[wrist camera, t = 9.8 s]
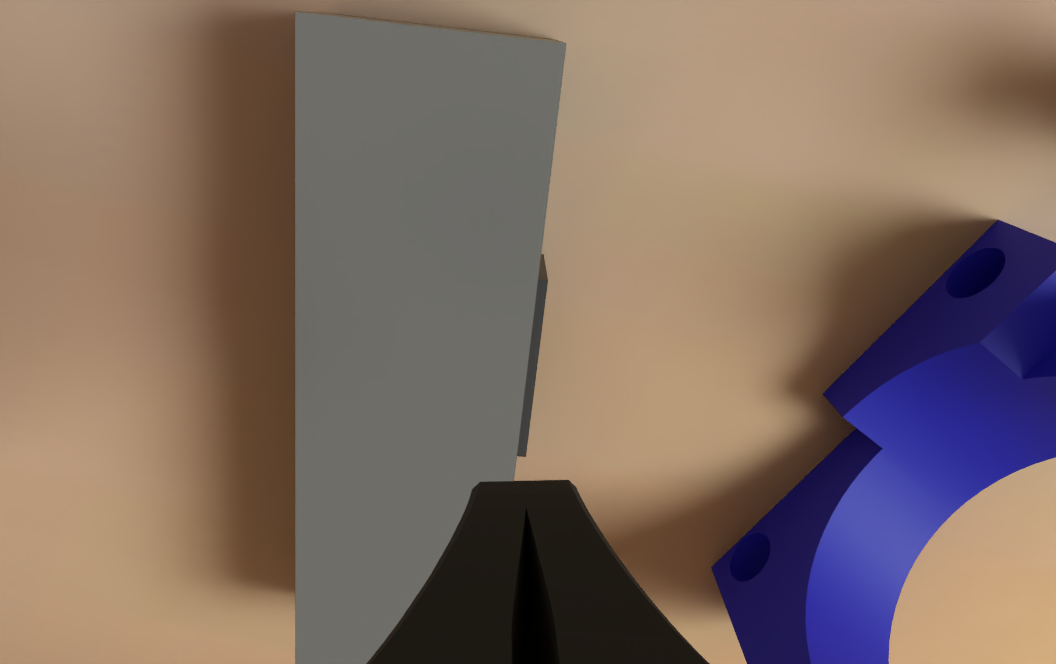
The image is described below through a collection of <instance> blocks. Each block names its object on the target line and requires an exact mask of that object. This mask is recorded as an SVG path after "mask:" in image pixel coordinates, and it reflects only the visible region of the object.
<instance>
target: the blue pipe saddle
mask: <svg viewBox="0 0 1056 664" xmlns="http://www.w3.org/2000/svg"><path fill="white" fill-rule="evenodd" d="M823 395H824V396H825V397H826V398H827V399H828V400H829V402H830V403H831V404H832V405H833V406H834V408H835V409H836V410H837V411H838V412H839V413H840V415H841V416H842V417H843V418H844V419H846V420H847V421H848V422H850V423H851V424H852V425H853V426H855V427H856V429H855V430H854V431H853V432H852V433H851V434H850V435H849V436H848V437H847V438H845V439H844V440H843V441H842V442H841V443H840V444H839V445H838V446H837V447H836V448H835V449H834V450H833V451H832V452H831V453H830V454H829V455H828V456H827V457H826V458H825V459H824V460H823V461H822V462H820V463H819V464H818V465H817V466H816V467H815V468H814V469H813V470H812V471H811V472H810V473H809V474H808V475H807V476H806V477H805V478H804V479H803V480H802V481H801V482H800V483H799V484H798V485H797V486H795V487H794V488H793V489H792V490H791V491H790V492H789V493H788V494H787V495H786V496H785V497H784V498H783V499H782V500H781V501H780V502H779V503H778V504H777V505H776V506H775V507H774V508H773V509H772V510H771V511H769V512H768V513H767V514H766V515H765V516H764V517H763V518H762V519H761V520H760V521H759V522H758V523H757V524H756V525H755V526H754V527H753V528H752V529H751V530H750V531H749V532H748V533H747V534H746V535H744V536H743V537H742V538H741V539H740V540H739V541H738V542H737V543H736V544H735V545H734V546H733V547H732V548H731V549H730V550H729V551H728V552H727V553H726V554H725V555H724V556H723V557H722V558H721V559H719V560H718V561H717V562H716V563H715V564H714V565H713V566H712V567H711V568H712V571H713V574H714V576H715V579H716V582H717V584H718V587H719V590H720V592H721V595H722V598H723V600H724V603H725V606H726V608H727V611H728V614H729V616H730V619H731V622H732V624H733V627H734V630H735V632H736V635H737V638H738V640H739V643H740V646H741V649H742V651H743V654H744V657H745V659H746V662H747V664H889V662H888V658H889V639H890V632H891V625H892V620H893V616H894V612H895V607H896V604H897V601H898V598H899V595H900V592H901V589H902V587H903V585H904V582H905V580H906V578H907V576H908V573H909V571H910V570H911V568H912V566H913V564H914V562H915V560H916V559H917V557H918V555H919V554H920V552H921V551H922V549H923V548H924V547H925V545H926V544H927V542H928V541H929V540H930V538H931V537H932V536H933V535H934V533H935V532H936V531H937V530H938V528H939V527H940V526H941V525H942V524H943V523H944V522H945V521H946V520H947V519H948V518H949V517H950V516H951V515H952V514H953V513H954V512H955V511H956V510H958V509H959V508H960V507H961V506H962V505H963V504H964V503H966V502H967V501H968V500H969V499H971V498H972V497H974V496H975V495H976V494H978V493H979V492H980V491H982V490H983V489H985V488H987V487H988V486H990V485H991V484H993V483H995V482H996V481H998V480H1000V479H1002V478H1004V477H1006V476H1008V475H1010V474H1012V473H1014V472H1016V471H1018V470H1020V469H1023V468H1025V467H1028V466H1030V465H1033V464H1035V463H1038V462H1042V461H1045V460H1048V459H1051V458H1054V457H1056V243H1055V242H1052V241H1050V240H1047V239H1045V238H1042V237H1040V236H1037V235H1035V234H1032V233H1030V232H1027V231H1025V230H1023V229H1020V228H1018V227H1015V226H1013V225H1010V224H1008V223H1005V222H1003V221H1000V220H997V221H996V222H995V223H994V224H993V225H992V226H991V227H990V228H989V229H988V230H987V231H986V232H985V233H984V234H983V235H982V236H981V237H980V238H979V239H978V240H977V241H976V242H975V243H974V244H973V245H972V246H971V247H970V248H969V249H968V250H967V251H966V252H965V253H964V254H963V255H962V256H961V257H960V258H959V259H958V260H957V261H956V262H955V263H954V264H953V265H952V266H951V267H950V268H949V269H948V270H947V271H946V272H945V273H944V274H943V275H942V276H941V277H940V278H939V279H938V280H937V281H936V282H935V283H934V284H933V285H932V286H931V287H930V288H929V289H928V290H927V291H926V292H925V293H924V294H923V295H922V296H921V297H920V298H919V299H918V300H917V301H916V302H915V303H914V304H913V305H912V306H911V307H910V308H909V309H908V310H907V311H906V312H905V313H904V314H903V315H902V316H901V317H900V318H899V319H898V320H897V321H896V322H895V323H894V324H893V325H892V326H891V327H890V328H889V329H888V330H887V331H886V332H884V333H883V334H882V335H881V336H880V337H879V338H878V339H877V340H876V341H875V342H874V343H873V344H872V345H871V346H870V347H869V348H868V349H867V350H866V351H865V352H864V353H863V354H862V355H861V356H860V357H859V358H858V359H857V360H856V361H855V362H854V363H853V364H852V365H851V366H850V367H849V368H848V369H847V370H846V371H845V372H844V373H843V374H842V375H841V376H840V377H839V378H838V379H837V380H836V381H835V382H834V383H833V384H832V385H831V386H830V387H829V388H828V389H827V390H826V391H825V392H824V393H823Z"/></svg>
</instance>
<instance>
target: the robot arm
mask: <svg viewBox="0 0 1056 664" xmlns="http://www.w3.org/2000/svg"><path fill="white" fill-rule="evenodd" d="M366 664H709V663H708V662H707V661H706V660H705V659H704V658H703V657H702V656H701V655H700V654H699V653H698V652H697V651H696V650H695V649H694V648H693V647H692V646H691V645H690V644H689V643H688V642H687V640H686V639H685V638H684V637H683V636H682V635H681V634H680V633H679V632H678V631H677V630H676V628H675V627H674V626H673V625H672V624H671V623H670V622H669V621H668V619H667V618H666V617H665V616H664V615H663V613H662V612H661V611H660V610H659V609H658V608H657V606H656V605H655V604H654V603H653V602H652V600H651V599H650V598H649V597H648V596H647V594H646V593H645V592H644V591H643V589H642V588H641V587H640V586H639V584H638V583H637V582H636V580H635V579H634V578H633V576H632V575H631V574H630V572H629V571H628V570H627V568H626V567H625V565H624V564H623V563H622V561H621V560H620V559H619V557H618V556H617V555H616V553H615V552H614V550H613V549H612V548H611V546H610V545H609V543H608V542H607V540H606V539H605V537H604V536H603V534H602V532H601V531H600V529H599V528H598V526H597V525H596V523H595V521H594V520H593V518H592V516H591V515H590V513H589V511H588V510H587V508H586V506H585V504H584V502H583V501H582V499H581V497H580V495H579V493H578V491H577V488H576V487H575V486H574V485H573V484H572V483H571V482H570V481H569V480H544V481H490V482H479V483H478V484H477V485H476V486H475V487H474V488H473V489H472V491H471V495H470V498H469V501H468V503H467V506H466V509H465V511H464V513H463V515H462V518H461V520H460V522H459V524H458V526H457V528H456V530H455V532H454V534H453V536H452V538H451V540H450V542H449V543H448V545H447V547H446V549H445V550H444V552H443V554H442V556H441V557H440V559H439V561H438V563H437V564H436V566H435V568H434V569H433V571H432V573H431V575H430V576H429V578H428V579H427V581H426V583H425V584H424V586H423V587H422V589H421V590H420V591H419V593H418V594H417V596H416V597H415V599H414V600H413V602H412V603H411V605H410V606H409V608H408V609H407V611H406V612H405V614H404V615H403V617H402V618H401V619H400V621H399V622H398V624H397V625H396V626H395V628H394V629H393V630H392V632H391V633H390V634H389V636H388V637H387V638H386V640H385V641H384V642H383V644H382V645H381V646H380V647H379V649H378V650H377V651H376V652H375V654H374V655H373V656H372V657H371V659H370V660H369V661H368V662H367V663H366Z"/></svg>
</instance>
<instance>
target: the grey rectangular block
mask: <svg viewBox="0 0 1056 664" xmlns="http://www.w3.org/2000/svg"><path fill="white" fill-rule="evenodd" d="M565 50H566V43H564V42H561V41H558V40H553V39H545V38H536V37H528V36H519V35H511V34H502V33H493V32H485V31H476V30H468V29H459V28H451V27H442V26H434V25H425V24H417V23H408V22H399V21H391V20H382V19H374V18H365V17H357V16H348V15H340V14H331V13H313V12H295V664H366V663H367V662H368V661H369V660H370V659H371V657H372V656H373V655H374V654H375V652H376V651H377V650H378V649H379V647H380V646H381V645H382V644H383V642H384V641H385V640H386V638H387V637H388V636H389V634H390V633H391V632H392V630H393V629H394V628H395V626H396V625H397V624H398V622H399V621H400V619H401V618H402V617H403V615H404V614H405V612H406V611H407V609H408V608H409V606H410V605H411V603H412V602H413V600H414V599H415V597H416V596H417V594H418V593H419V591H420V590H421V589H422V587H423V586H424V584H425V583H426V581H427V579H428V578H429V576H430V575H431V573H432V571H433V569H434V568H435V566H436V564H437V563H438V561H439V559H440V557H441V556H442V554H443V552H444V550H445V549H446V547H447V545H448V543H449V542H450V540H451V538H452V536H453V534H454V532H455V530H456V528H457V526H458V524H459V522H460V520H461V518H462V515H463V513H464V511H465V509H466V506H467V503H468V501H469V498H470V495H471V491H472V489H473V488H474V487H475V486H476V485H477V484H478V483H479V482H490V481H514V476H515V467H516V459H517V456H522V457H526V451H527V443H528V435H529V427H530V419H531V411H532V403H533V395H534V387H535V379H536V371H537V363H538V355H539V347H540V339H541V331H542V323H543V315H544V307H545V299H546V291H547V283H548V278H547V272H546V266H545V260H544V254H541V251H542V242H543V234H544V226H545V217H546V209H547V201H548V192H549V184H550V176H551V167H552V159H553V151H554V142H555V134H556V126H557V117H558V109H559V101H560V92H561V84H562V76H563V67H564V59H565Z"/></svg>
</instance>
